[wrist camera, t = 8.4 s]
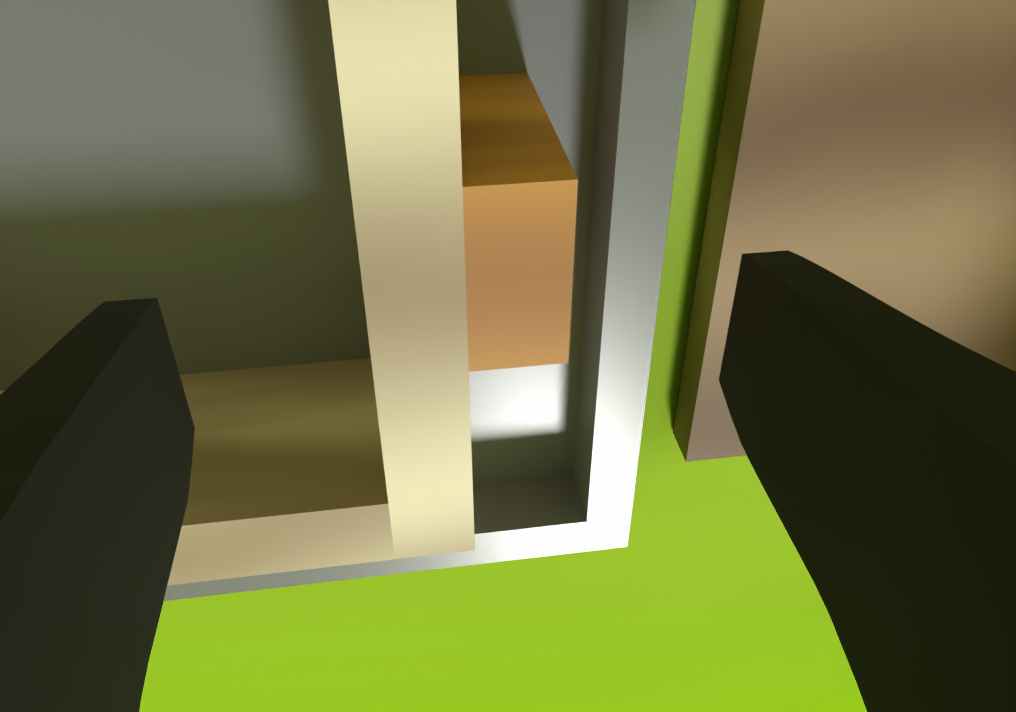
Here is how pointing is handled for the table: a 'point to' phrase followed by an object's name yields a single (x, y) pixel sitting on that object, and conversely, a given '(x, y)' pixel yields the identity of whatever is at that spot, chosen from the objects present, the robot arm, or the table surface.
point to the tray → (335, 222)
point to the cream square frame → (395, 317)
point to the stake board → (862, 174)
